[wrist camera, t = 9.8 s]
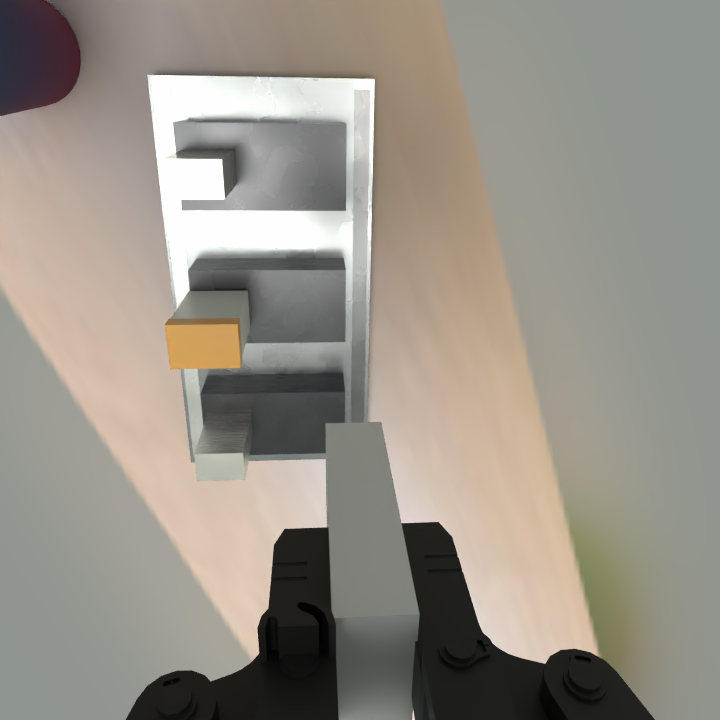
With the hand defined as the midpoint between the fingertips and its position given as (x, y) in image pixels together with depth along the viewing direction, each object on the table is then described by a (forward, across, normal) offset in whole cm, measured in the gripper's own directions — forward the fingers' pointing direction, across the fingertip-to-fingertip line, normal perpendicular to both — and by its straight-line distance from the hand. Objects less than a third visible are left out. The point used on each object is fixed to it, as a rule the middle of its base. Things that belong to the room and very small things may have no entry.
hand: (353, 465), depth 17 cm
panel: (+20, -3, -1) cm, 21 cm away
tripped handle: (+16, -6, -1) cm, 17 cm away
